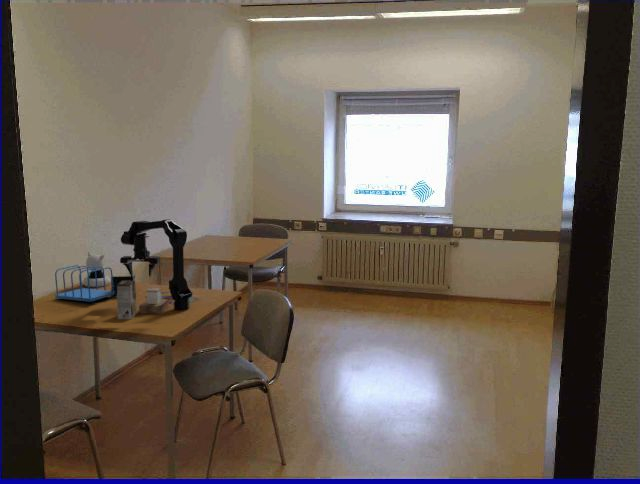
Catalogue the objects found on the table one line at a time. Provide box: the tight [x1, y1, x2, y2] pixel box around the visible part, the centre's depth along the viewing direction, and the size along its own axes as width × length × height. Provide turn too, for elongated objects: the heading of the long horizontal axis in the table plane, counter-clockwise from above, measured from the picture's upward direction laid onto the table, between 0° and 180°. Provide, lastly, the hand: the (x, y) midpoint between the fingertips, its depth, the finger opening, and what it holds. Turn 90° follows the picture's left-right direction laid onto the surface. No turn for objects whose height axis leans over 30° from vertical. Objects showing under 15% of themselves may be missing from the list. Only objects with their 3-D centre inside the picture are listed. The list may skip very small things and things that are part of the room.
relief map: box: [145, 290, 202, 305], centre depth 292 cm, size 25×15×2 cm, turn 53°
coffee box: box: [116, 280, 137, 320], centre depth 257 cm, size 9×6×16 cm
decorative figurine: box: [82, 251, 111, 288], centre depth 319 cm, size 15×15×20 cm
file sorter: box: [54, 264, 115, 302], centre depth 292 cm, size 25×17×15 cm
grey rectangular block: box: [110, 275, 133, 298], centre depth 296 cm, size 11×4×10 cm, turn 104°
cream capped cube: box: [145, 287, 162, 304], centre depth 269 cm, size 5×5×7 cm
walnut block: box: [138, 299, 169, 314], centre depth 270 cm, size 10×13×4 cm
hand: (141, 276), depth 283 cm, fingers open, 9 cm apart
